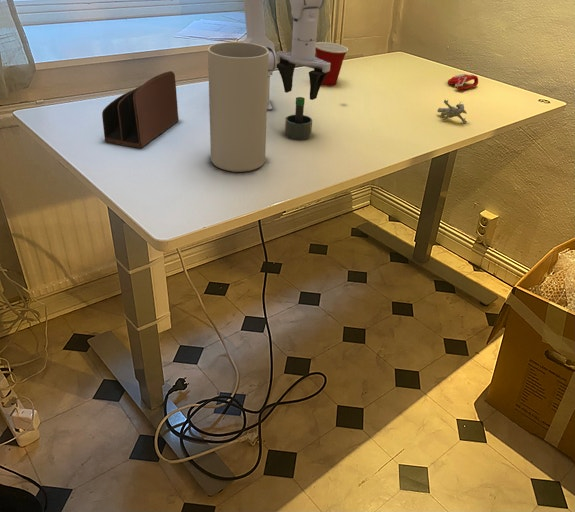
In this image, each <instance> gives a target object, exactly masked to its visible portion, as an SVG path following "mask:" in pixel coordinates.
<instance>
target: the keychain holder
mask: <svg viewBox="0 0 575 512" xmlns="http://www.w3.org/2000/svg"><path fill="white" fill-rule="evenodd" d="M472 80H473V83H472V84H469V85H466V86H463V85H464V84H465V83H468V82H470V81H472ZM447 84H450V85H454V87H455V88H457V89H458V90H468V89H471V88H475V87H476V86H478V84H479V77H478V76H477V75H474V74H471V73H470V74H465V73H463V74H462V73H461V74H457V75H454V76H452V77H451V78H449V79H447Z"/></svg>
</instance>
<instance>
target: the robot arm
mask: <svg viewBox="0 0 575 512" xmlns="http://www.w3.org/2000/svg"><path fill="white" fill-rule="evenodd" d="M325 2H326V0H289V4H290V8H291V11H290V13H291V17H292V33H291V34H292V35H291V36H292V37H291V38H292V39H291V52H290V51H284V50H279V51H276V50H275V49H276V48H275V43H274V42H273V41H271V40H270V39H269V38H268V37H267V35H266V34H267V33H266V23H265V10H264V0H243V9H244V10H243V11H244V18H245V19H244V20H245V29H246V30H245V31H246V37H245V39H244V40H243V41H242V42H244V43H252V44H257V45H261V46H263V47H265V48H267V49H268V50H269V60H268V90H267V111H271V110H273V106H272V104H271V102H270V90H271V89H270V85H271V76H273V72H275V70H276V69H277V70H278V72H279V74H280V78H281V81H282V85H283V90H284V91H283V92H284V93H287V94H288V93H289V92H292V91H293V80H294V73H295V68H296V66H297V65H298V66H302V67H306V68H308V69H309V68H310V69H312V70H310V71H308V76H309V85H310V86H309V100H311V101H313V100H316V99H317V98H318V95H319V91H320V88H321V86H322V85H321V84H322V82H323V80H324V78H325V77H326V75H327V74H328V72H329V71H330V65H331V63H329V62H326V61H323V60H321V59H319V58H316V43H317V37H318V25H319V13H320V12H319V11H320V10H321V9H322V8H323V7H324V5H325ZM319 9H320V10H319ZM278 61H279V62H278Z"/></svg>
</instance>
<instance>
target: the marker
mask: <svg viewBox="0 0 575 512" xmlns="http://www.w3.org/2000/svg"><path fill="white" fill-rule="evenodd" d="M305 100H306V99H305V97H302V96H297V97H295V112H294V113H295V114H294V115H295V123H296V124H303V115H304V112H305V111H304V109H305Z"/></svg>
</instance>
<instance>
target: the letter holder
mask: <svg viewBox="0 0 575 512" xmlns="http://www.w3.org/2000/svg"><path fill="white" fill-rule="evenodd" d="M177 95H178V94H177V84H176V75H175V73H174V71H172V70H169V71H166V72H162V73H160V74H158V75H155V76H153V77H152V78H150V79H149V80H147V81H146V82H144V83H143V84H142V85H140V86H137V87H136V88H134V89H132V90H130V91H127V92H125V93H123V94H122V95H120V96H118V97H117V98H115V99H113V100H112V101H111V102H110V103H109V104H107V105H106V106H105V107H104V108H103V110H102V111H101V119H102V127H103V136H104V142H105V143H111V144H115V145H120V146H121V145H122V146H125V147H131V148H138V149H143V148H144V147H145V146H146V145H148V144H150V142H152V141H153V140H154V139H156V138H157V137H158V136H160V135H161V134H163V133H164V132H165V131H167V130H168V129H169V128H172V126H174V125H175V124H176V123H178V122H179V120H180V119H179V117H180V116H179V108H178V107H179V106H178V96H177Z"/></svg>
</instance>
